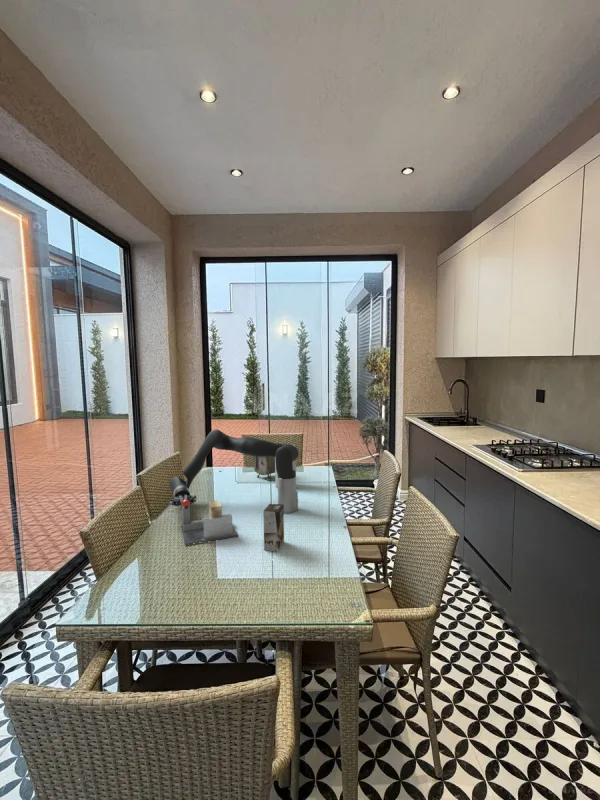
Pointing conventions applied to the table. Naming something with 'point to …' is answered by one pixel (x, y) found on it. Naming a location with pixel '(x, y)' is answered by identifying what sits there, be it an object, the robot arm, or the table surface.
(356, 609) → the table surface
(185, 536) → the vise bed
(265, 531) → the coffee box
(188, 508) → the vise slide jaw
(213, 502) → the maple block
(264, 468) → the tabletop clock
